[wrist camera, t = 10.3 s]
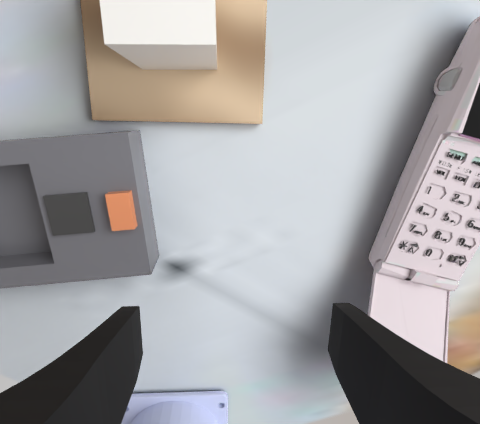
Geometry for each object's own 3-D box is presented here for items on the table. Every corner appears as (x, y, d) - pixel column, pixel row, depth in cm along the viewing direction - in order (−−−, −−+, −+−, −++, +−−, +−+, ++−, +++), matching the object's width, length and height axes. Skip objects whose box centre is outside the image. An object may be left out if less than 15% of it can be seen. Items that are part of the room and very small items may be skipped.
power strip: (141, 130, 19) (124, 132, 16) (160, 253, 21) (148, 279, 18) (-139, 150, 18) (-221, 158, 15) (-89, 275, 21) (-151, 307, 17)
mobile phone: (351, 417, 18) (597, -91, 12) (319, 346, 24) (474, -25, 18) (442, 433, 19) (714, -32, 13) (390, 361, 25) (562, 13, 19)
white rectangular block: (217, 69, 17) (215, 44, 12) (142, 69, 17) (104, 44, 12) (214, -16, 16) (212, -89, 11) (135, -17, 16) (88, -92, 10)
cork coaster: (260, 123, 19) (262, 123, 18) (96, 120, 18) (92, 120, 18) (268, -70, 16) (269, -76, 16) (76, -81, 16) (71, -88, 15)
